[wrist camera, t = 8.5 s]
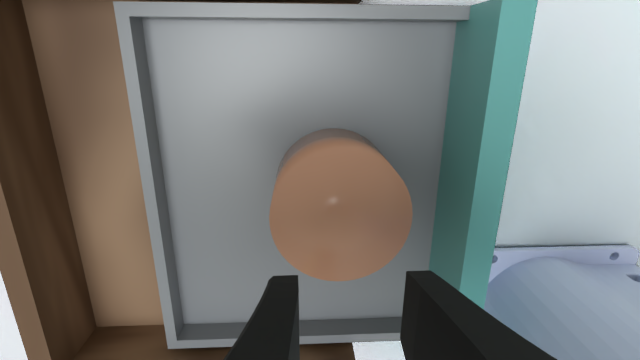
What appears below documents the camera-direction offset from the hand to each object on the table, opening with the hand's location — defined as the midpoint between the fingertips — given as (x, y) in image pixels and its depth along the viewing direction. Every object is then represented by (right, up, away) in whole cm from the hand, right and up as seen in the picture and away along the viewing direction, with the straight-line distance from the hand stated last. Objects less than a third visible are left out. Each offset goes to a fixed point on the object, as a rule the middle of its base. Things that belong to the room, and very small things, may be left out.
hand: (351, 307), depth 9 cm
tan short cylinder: (0, +3, +8) cm, 9 cm away
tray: (-2, +3, +10) cm, 10 cm away
